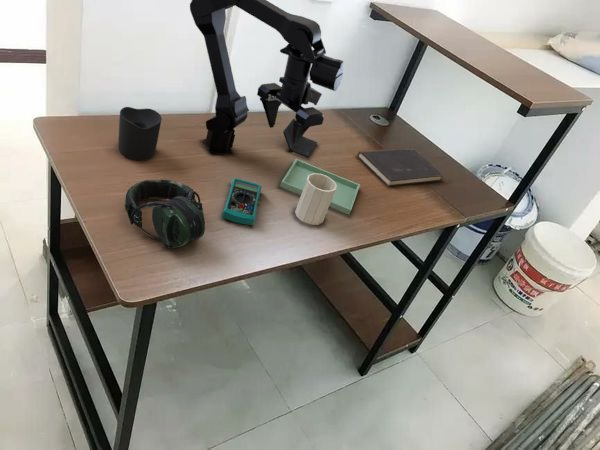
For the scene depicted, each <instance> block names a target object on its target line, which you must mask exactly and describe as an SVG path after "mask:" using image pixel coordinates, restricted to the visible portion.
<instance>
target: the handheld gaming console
mask: <svg viewBox="0 0 600 450" xmlns="http://www.w3.org/2000/svg"><path fill="white" fill-rule="evenodd" d="M294 121H296V118H293V119H292V120H291V121H290V122H289V124H288V125H287V126H286V127H285V128H284V129H283V132H282V134H283V136H284V139H285V141H286V144H287V146H288V153H295V154H297V155H299V156H302V157H304V158H307V159H308V158H309V157H310V155H311V154H312V152H313V150H314V149H315V147H316V146H317V144H318V142H317V141H314V140H313V139H310V138H308V137H305V136H304V135H303V136H302V137H301V139H300V140H299V142H298V143H297V144H295V145H294V144H293V122H294Z"/></svg>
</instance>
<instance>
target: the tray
mask: <svg viewBox="0 0 600 450" xmlns="http://www.w3.org/2000/svg"><path fill="white" fill-rule="evenodd" d="M312 173H318V174H323V175H326V176H328V177H330V178H331V179H332V180H334V181H335V183H336V185H337V187H336V191H335V193H334V196H333V198H332V201H331V203H330V205H329V208H331V209H333V210H335V211H339V212H341V213H343V214H346V215H348V216H349V215H350V214H351V211H352V209H353V207H354V203H355V201H356V198H357V195H358V192H359V189H360V187H361V184H360V183H357V182H355V181H352V180H350V179H347V178H345V177H342V176H340V175H337V174H335V173H332V172H330V171H327V170H325V169H323V168H321V167H317V166H315V165H313V164H310V163H308V162H306V161H303V160H300V159H299V158H295V160H294V161H293V162H292V164H291V165H290V167H289V169H288V170H287V172H286V173H285V174H284V177H283V179H282V180H281V182H280V185H279V187H280V188H281V189H282V188H283V189H285V190H287V191H289V192H292V193H294V194H297V195H300V196H301V194H302V191H303V188H304V185H305V183H306V180H307V177H308V175H310V174H312Z"/></svg>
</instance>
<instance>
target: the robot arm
mask: <svg viewBox="0 0 600 450" xmlns="http://www.w3.org/2000/svg"><path fill="white" fill-rule="evenodd" d="M233 7H237V8H238V9H240V10H242V11H243V12H245V13H247V14H249V16H252V17H254V18H256V19H257V20H259V21H260V22H262V23H264V24H265V25H267V26H269V27H271V28H272V29H274V30H275V31H276V32H277V33H279V34H280V36H281V37H282V39H283V40H284V41H285V42H286V43H287V45H285V47H282V48H280V50H279V52H280V53H281V54H282V55H283V54H284V55H286V56H287V60H286V64H285V68H284V75H283V76H280V77H279V79H278V82H280V83H281V86H280V85H279V84H278V83H276V82H270V83H262V84H260V85H259V87H258V88H257V92H256V93H257V94H256V95H257V96H258V97H259V101H260V102H261V104H262V107H263V110H264V113H265V116H266V117H265V118H266V120H267V123H268V128H270V129H272V128H274V126H275V124H276V121H277V117H278V112H279V108H280V107H281V105H284V106H285V107H286V108H289V109H290V110H291V111H293V112H295V116H294V119H295V120H296V121H294V122H293V144H294V145H295V144H297V143H298V142H299V140H300V139H301V137H302V136H303V137H304V135H305V133H306V132H307V131H308V130H309V128H310V127H316V126H320V125H321V126H322V125H323V123H324V119H325V115H324V114H323V112H321V110H318V109H317V108H315V107H314V106H317V105H318V103H319V102H320V99H321V97H322V95H323V94H322V93H321V92H320V91H318V90H316V89H315V88H313V87H312V84H314V85H317V86H320V87H322V88H325V89H328V90H330V91H334V92H336V91H337V90H338V88H340V85H341V82H342V80H343V77H344V63H345V62H344V60H341V59H340V58H339V59H338V58H334V57H330V56H327V55H326V54H327V51H326V48H325V45H324V43H323V39H322V30H321V26H320V24H319V23H318V22H317V21H316V20H313V19H311V18H307V17H305V16H301V15H297V14H293V13H290V12H287V11H285V10H284V9H282V8H280V7H279V6H277V5H275V4H273V3H272V2H270V1H268V0H191V1H190V3H189V11H190V13H191V16H192V19H193V22H194V24H195V26H196V27H197V29H198V30H199V32H200V33H201V34H202V35H203V39H204V42H205V43H204V44H205V48H206V51H207V52H206V53H207V56H208V60H209V64H210V69H211V73H212V78H213V82H214V86H215V90H216V101H215V107H214V109H215V110H214V111H215V115H214V116H212V117H211V118H209V119H207V120H205V128H206V130H207V132H206V136H205V139H202V143H203V144H204V146H205V148H206V149H207V150H208V152H209V154H210V155H223V154H224V155H225V154H228V155H229V154H231V155H232V154H233V152H234V150H232V149H233V147H234V146H233V145H234V142H235V138H236V134H235V133H236V130H235V128H237V127H238V126H239V125H242V124H244V123H245V121H246V120H247V118H248V112H249V111H250V108H249V107H248V104H247V97H246V96H245V95H240V94H239V93H238V91H237V89H236V84H235V80H234V74H233V71H232V66H231V65H232V64H231V61H230V60H231V59H230V55H229V51H228V47H227V42H226V37H225V32H224V31H225V25H226V19H227V16H226V15H227V14H226V10H228V9H231V8H233ZM309 80H310V81H311V82H309ZM309 103H311V104H313V106H311V107H310V106H309V107H304V106H302V105H306V106H307V105H309Z"/></svg>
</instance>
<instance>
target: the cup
mask: <svg viewBox="0 0 600 450" xmlns="http://www.w3.org/2000/svg"><path fill="white" fill-rule="evenodd" d="M336 187H337V185H336V183H335V181H334V180H332V179H331V178H330V177H328V176H326V175H323V174H318V173H312V174H310V175H308V177H307V180H306V183H305V185H304V188H303V191H302V194H301V195H300V197H299V199H298V203H297V205H296V208H295V211H294V213H295V216H296V217H297V219H299V220H300V221H301V222H303V223H305V224H308V225H311V226H312V225H313V226H314V225H315V226H316V225H317V226H318V225H320V224H322V223H324V220H325V217H326V215H327V213H328V210H329V208H330V207H329V205H330V203H331V201H332V198H333V196H334V193H335V191H336Z"/></svg>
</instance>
